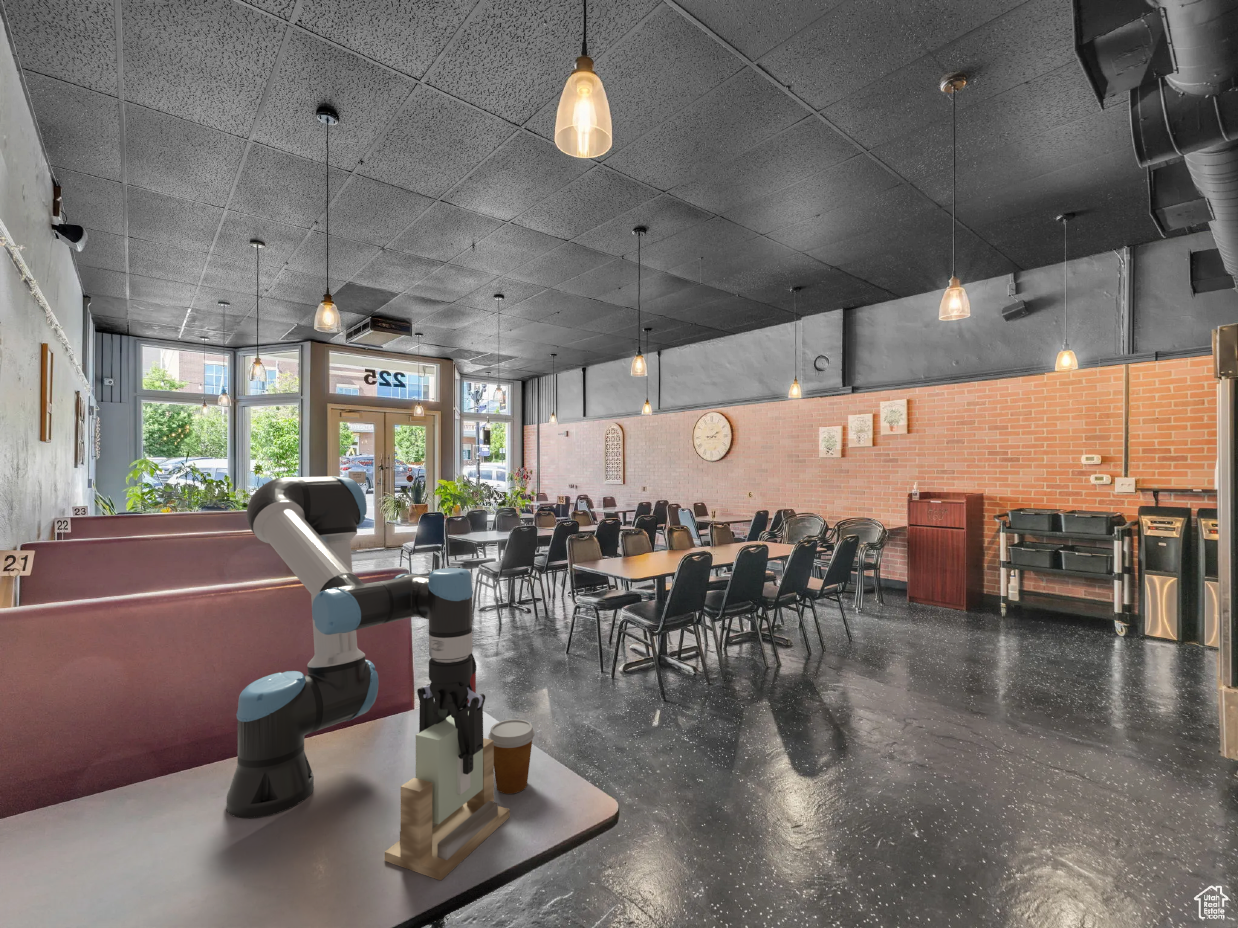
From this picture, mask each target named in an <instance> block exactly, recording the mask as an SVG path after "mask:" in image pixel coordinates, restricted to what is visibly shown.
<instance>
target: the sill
mask: <svg viewBox="0 0 1238 928" xmlns="http://www.w3.org/2000/svg"><path fill="white" fill-rule="evenodd" d="M494 778H495V771H494V740H490V739H489V738H485V737H483V790H481V791H480V792H479V793H477V794H476V795H475V796H474V797H472V798H471V799H470V800H469V801H467V802H466V803H465V804H464V805H462V806H461V807H460V808H459V809H457V810H456V811H455V812H454V813H452V814H451V815H450V816H449V817H447V818H446V819H445V820H443V821H442V822H441V823H440V824H436V823H433V822H432V782H428V781H424V780H421V779H417V778H416V777H412V778H411V779H409V780H408V781H406V782H405V783H403V784H402V785H400V831H399V840H398V841H397V842H395V843H394V844H393V845H391V846H390V847H389V848H387V849H386V850H385V851H384V861H385V862H386V863H389V864H393V865H394V866H395V865H396V866H398V867H401V868H403V869H406V870H410V871H413V872H416V873H419V874H421V875H424V876H427V877H429V878H432V879H436V880H438V881H442V880H443V879H445V878H446V877H447V876H448V875H449V874H450V873H451V872H452V871H454V869H455V868H456V867H458V866H459V864H461V863H462V862H463V861H464V860H465V859H466V858H467V857H468V856H469V855H470V854H471V853H473V852H474V851H475V850H476V849H477V848H478V847H480V845H481V844H483V843H484V841H485V840H487V839H488V838H489V837H490V836H491V835H492V834H493V833H494V832H495V831H496V830H497V829H499V828H500V827H501V826H502V825H503V824H504V823H505V822H506V821H507V820H508V819H509V818H510V816H511V815H510V812H511V810H510V808H507V807H503V806H499V804H498V802H496V801H495V795H494V794H495V790H494V789H495V788H494V787H495V786H494V785H495V781H494V780H495V779H494Z"/></svg>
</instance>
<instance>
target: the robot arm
mask: <svg viewBox="0 0 1238 928" xmlns="http://www.w3.org/2000/svg"><path fill="white" fill-rule="evenodd" d="M367 511H368V507H367V500H366V496H365V493H364V491H363V489H362V487H361V486H360V485H359V484H358V483H357V481H355V479H352V478H350V477H344V476H332V475H330V476H303V477H302V476H299V477H298V476H297V477H295V476H293V477H292V476H285V477H284V476H283V477H279V478H275V479H272V480H270V481H268V482H265V483H264V484H263V485H262V486H261V487H259V488H258V489H257V490H256V491H255V492H254V493H253V495H251V497H250V499H249V502H248V504H247V507H246V520H247V523H248V527H249V528H250V531H251V532H252V533H253V534H254V535H255V537H256V538H257V539H258V540H260V541H261V542H263V543H265V544H270V546H271V547H272V548H273V549H274V551H275V552H276V553H277V555H278V556H279V557H280V558H281V559H282V561H283V562H284V563H285V565H287V567H288V568H289V569H290V570H291V572H292V573H293V574H294V575H295V577H297V579H298V580H299V582H300V583H301V584H302V585H303V586H304V587H305V589H306V590H307V591H308V592H309V594H310V597H311V598H310V599H311V616H312V632H313V646H314V647H313V649H314V655H313V657H312V658H311V659H310V660H309V661H308V663H307V666H306V667H307V675H304V673H303V672H301V671H299V670H298V671H297V670H287V671H284V672H275V673H272V674H269V675H265V676H263V677H260V678H259V679H256V680H254V681H252V682H250V684H248V685H247V686H245V688H243V689H242V691H241V692H240V694H239V697H238V702H237V704H238V705H237V706H238V707H237V712H236V714H235V715H236V720H237V762H236V763H237V765H236V768H235V772H234V775H233V778H232V779H231V780H232V781H231V784H230V787H229V789H228V792H227V794H226V812H227V813H228V814H229V815H231V816H233V817H236V818H243V819H252V818H253V819H254V818H262V817H268V816H272V815H276V814H278V813H281V812H284V811H287V810H290V809H292V808H294V807H295V806H297V805H299V804H301V803H302V802H303V801H305V800H306V799H307V798H308V797H309V796H311V794H312V793H313V791H314V785H315V784H314V783H315V781H314V779H315V778H314V777H315V776H314V772H313V771H312V768H311V765H310V763H309V760H308V757H307V755H306V752H305V736H306V735H309V734H312V733H315V732H317V731H321V730H323V729H326V728H329V727H332V726H335V725H338V724H341V723H343V722H349V721H352V720H354V719H355V718H358V717H360V716H363V715H364V714H366V713H368V712H369V711H370V710H371V708H372V707H373V706H374V704H375V702H376V699H377V697H378V692H379V674H378V671H377V670H376V666H375V664H374V663H373V662H372V661H371V660H369V659H366V653H364V651H362V650H361V649H359V648H358V639H357V638H358V637H357V630H362V629H365V628H366V629H367V628H370V627H375V626H378V625H382V624H383V625H384V624H387V623H392V622H396V621H402V620H405V619H410V618H421V619H424V620H425V619H426V620H428V656H429V657H430V659H429V660H428V679H429V681H430V684H429V683H428V684H426V685H424V686H422V687H419V688H418V689H417V691H416V693H417V697H418V701H419V724H418V725H419V730H418V731H419V732H418V733H420V732H422V731H423V730H425V729H427V728H429V727H431V726H432V725H434V724H438V723H440V722H442V721H444V720H445V719H446V717H447V712H448V710H450V712H451V717H452V718H454V722H455V727H456V728H457V729H458V742H459V747H460V752H461V754H460V755H458V756H457V794H460V795H461V794H462V793H464V792H465V791H466V790H467V789H469V788H470V772H472V771H473V755H474V754H476V753H477V752H478V751H480V750H481V749H483V738H484V704H485V701H486V695H485V694H484V693H480V694H478V693H477V692H476V693H475V692H473V691H472V687H471V684H470V679H471V676H472V656H471V655H470V654H471V653H472V654H473V594H474V590H473V582H472V581H473V580H472V573H471V572H470V570H468V569H466V568H462V567H458V568H457V567H448V568H447V567H446V568H443V567H442V568H438V569H434V570H432V571H430V573H429V574H428V576H426V575H422V574H418V573H401V574H398V575H396V576H395V577H393V578H392V579H387V580H382V581H374V582H368V583H364V582H363V581H362V580H361V579H360V578H359V577H358V576H357V575H356V574H355V572H353V560H352V559H353V558H352V557H353V556H352V545H351V543H352V542H351V541H352V540H353V539H354V538H355V536H357V534H358V527H359V526H361V525H362V524H363V523H364V522H365V520H366V515H367ZM468 699H469V703H468V701H467V700H468ZM460 708H461V709H460ZM468 711H469V715H468ZM467 746H468V747H467Z"/></svg>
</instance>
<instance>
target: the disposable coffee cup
mask: <svg viewBox="0 0 1238 928" xmlns="http://www.w3.org/2000/svg"><path fill="white" fill-rule="evenodd" d="M489 731H490V732H489V733H488V737H487V738H488V739H490V740H494V778H495V779H494V780H495V787H496V790H497V791H498V792H499V793H501V794H506V795H507V794H508V795H510V794H511V795H512V794H517V793H519V792H522V791H524V790H525V789H526V788H527V786H528V779H529V771H530V764H531V763H530V762H531V754H532V745H533V739H534V737H535V734H536V731H535V729H534V727H533V724H532V723H531V722H530V721H528V720H525V719H506V720H502V721H499V722H496V723H495V724H493V725H492V726H491V728H490V730H489Z"/></svg>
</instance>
